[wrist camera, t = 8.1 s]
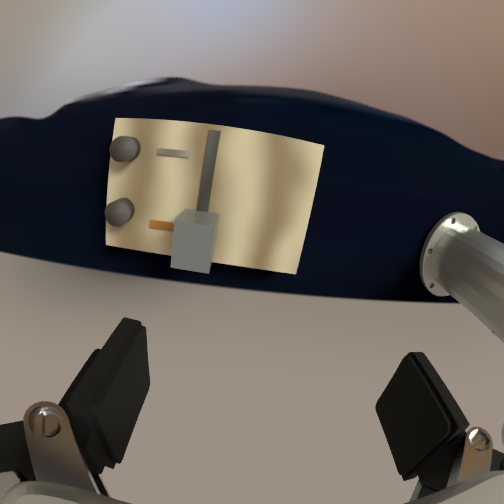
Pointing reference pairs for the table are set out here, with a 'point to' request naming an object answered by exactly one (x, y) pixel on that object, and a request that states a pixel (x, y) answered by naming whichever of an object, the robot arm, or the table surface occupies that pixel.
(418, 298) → the table surface
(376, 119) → the table surface
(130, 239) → the fader console
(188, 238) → the fader tab
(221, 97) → the table surface
